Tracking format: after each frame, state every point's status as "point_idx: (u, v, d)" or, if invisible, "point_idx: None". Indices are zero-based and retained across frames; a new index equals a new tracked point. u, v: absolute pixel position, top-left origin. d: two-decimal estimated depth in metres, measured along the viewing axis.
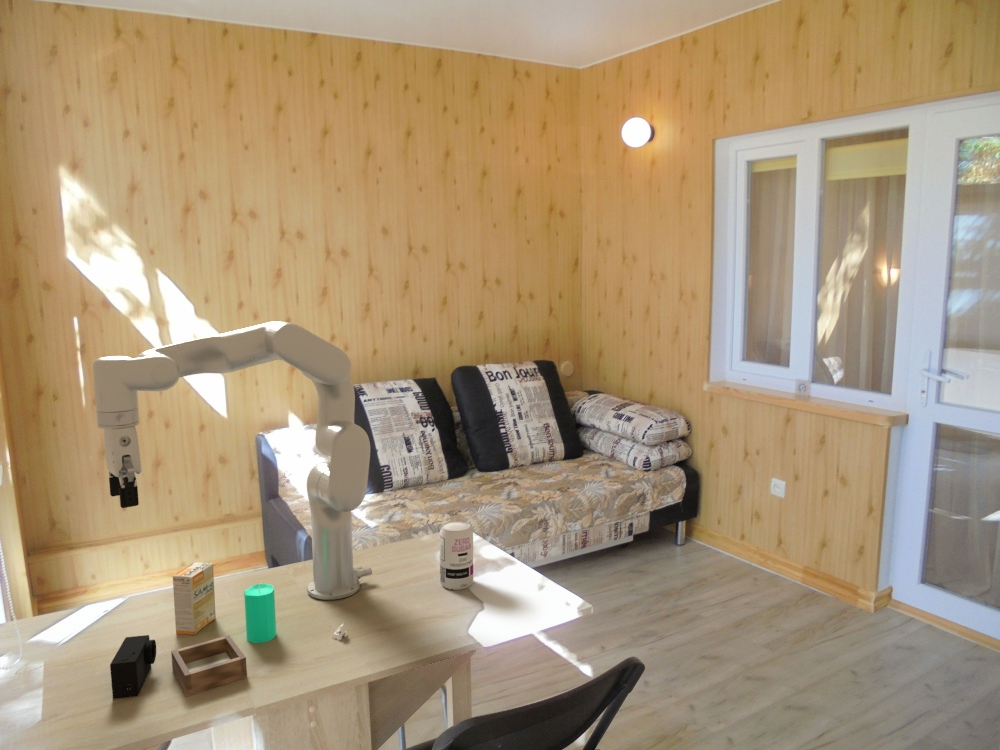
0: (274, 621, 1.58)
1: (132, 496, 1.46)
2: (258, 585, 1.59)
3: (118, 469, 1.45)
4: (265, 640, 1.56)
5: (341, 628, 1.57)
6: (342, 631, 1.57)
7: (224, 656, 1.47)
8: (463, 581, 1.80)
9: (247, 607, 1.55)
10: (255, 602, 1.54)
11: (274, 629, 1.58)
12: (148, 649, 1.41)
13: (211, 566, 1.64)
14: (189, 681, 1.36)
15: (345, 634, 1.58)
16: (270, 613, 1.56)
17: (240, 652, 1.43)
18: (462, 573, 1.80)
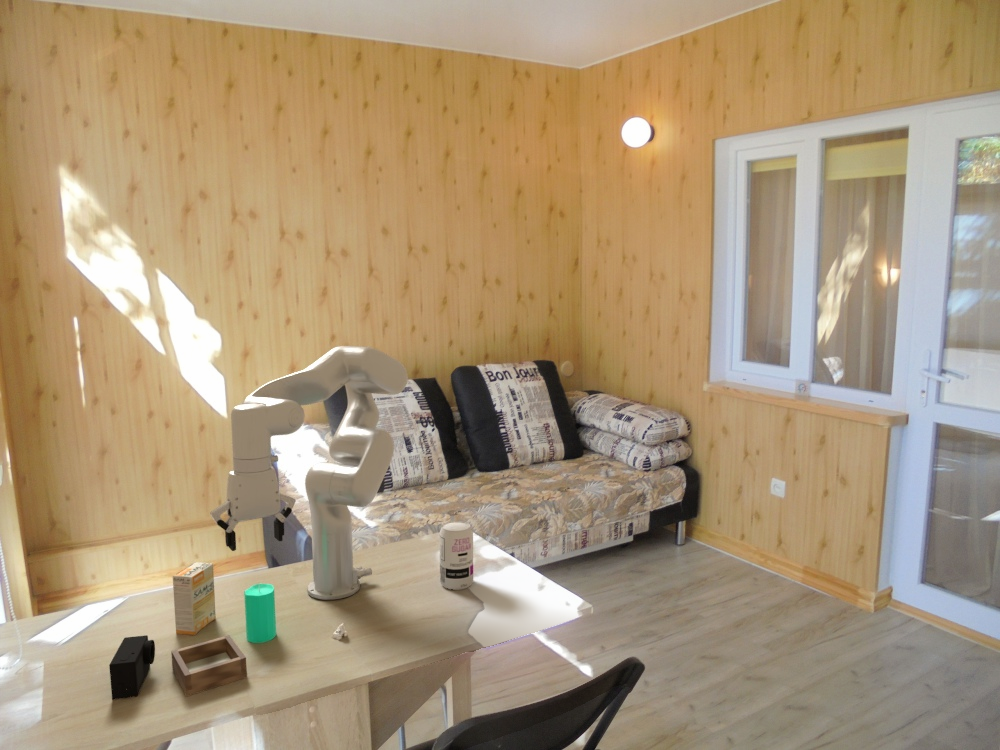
0: (274, 621, 1.58)
1: None
2: (258, 585, 1.59)
3: (280, 505, 1.56)
4: (265, 640, 1.56)
5: (341, 628, 1.57)
6: (342, 631, 1.57)
7: (224, 656, 1.47)
8: (463, 581, 1.80)
9: (247, 607, 1.55)
10: (255, 602, 1.54)
11: (274, 629, 1.58)
12: (147, 649, 1.41)
13: (211, 566, 1.64)
14: (189, 681, 1.36)
15: (345, 634, 1.58)
16: (270, 613, 1.56)
17: (240, 652, 1.43)
18: (462, 573, 1.80)
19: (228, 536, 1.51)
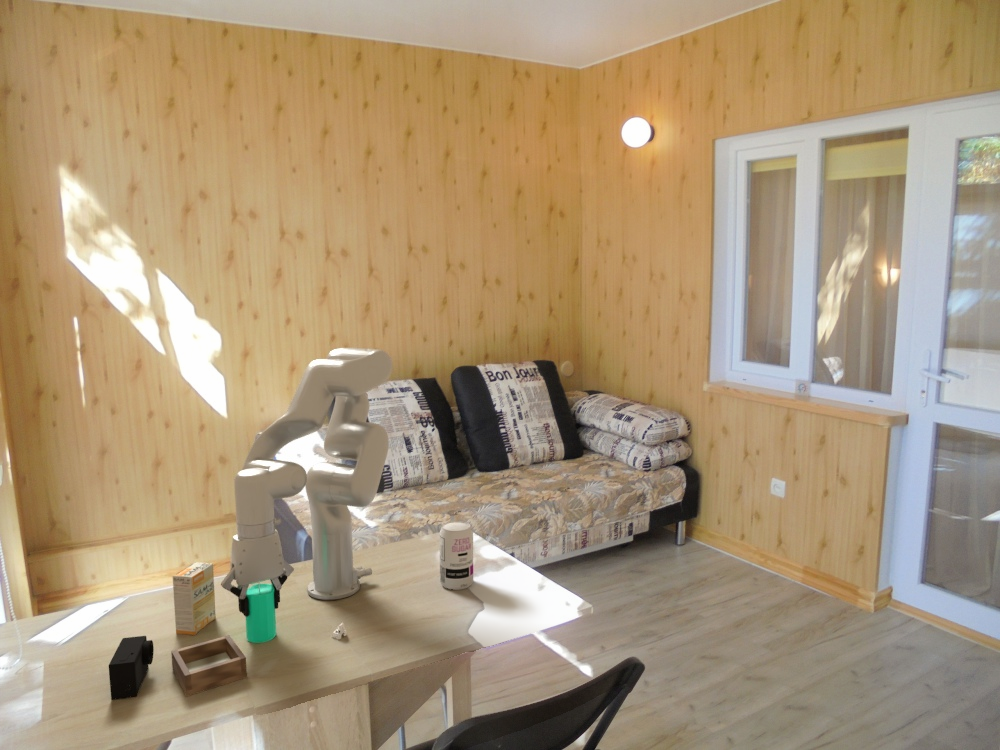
0: (274, 621, 1.58)
1: None
2: (258, 585, 1.59)
3: None
4: (265, 640, 1.56)
5: (341, 627, 1.57)
6: (341, 630, 1.57)
7: (224, 656, 1.47)
8: (463, 581, 1.80)
9: None
10: (255, 602, 1.54)
11: (274, 629, 1.58)
12: (146, 649, 1.41)
13: (211, 566, 1.64)
14: (189, 681, 1.36)
15: (344, 633, 1.58)
16: (270, 613, 1.56)
17: (240, 652, 1.43)
18: (462, 573, 1.80)
19: (241, 602, 1.54)
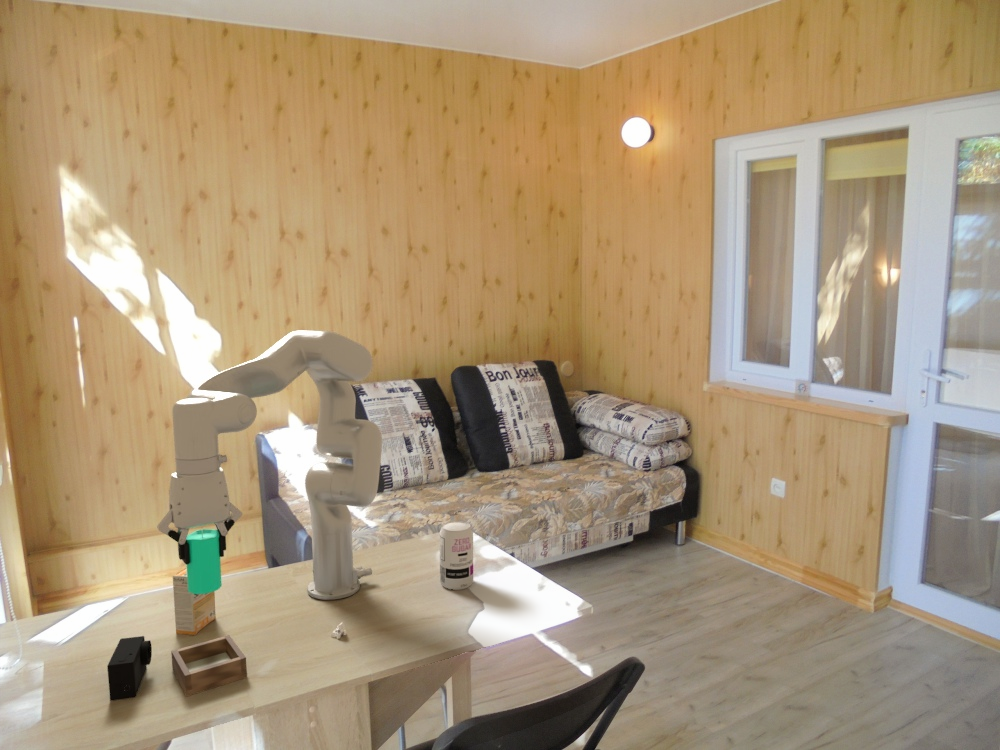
0: (219, 570, 1.41)
1: None
2: (202, 530, 1.42)
3: None
4: (208, 591, 1.39)
5: (340, 627, 1.57)
6: (341, 630, 1.58)
7: (224, 656, 1.47)
8: (463, 581, 1.80)
9: None
10: (196, 548, 1.37)
11: (219, 579, 1.41)
12: (144, 649, 1.41)
13: None
14: (189, 681, 1.36)
15: (344, 633, 1.59)
16: (214, 561, 1.39)
17: (240, 652, 1.43)
18: (462, 573, 1.80)
19: (181, 548, 1.37)
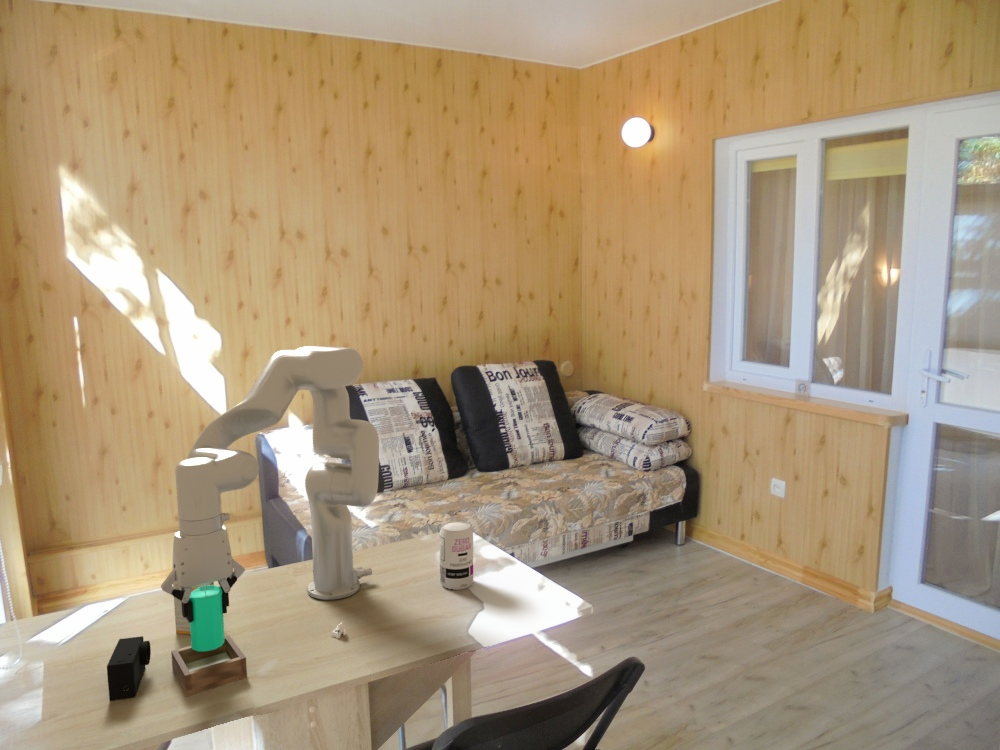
0: (222, 627, 1.42)
1: None
2: (205, 587, 1.44)
3: None
4: (211, 648, 1.40)
5: (340, 627, 1.58)
6: (341, 629, 1.58)
7: (224, 656, 1.47)
8: (463, 581, 1.80)
9: None
10: (199, 606, 1.39)
11: (222, 636, 1.42)
12: (144, 650, 1.41)
13: None
14: (189, 681, 1.36)
15: (344, 632, 1.59)
16: (217, 619, 1.41)
17: (240, 652, 1.43)
18: (462, 573, 1.80)
19: (184, 607, 1.39)
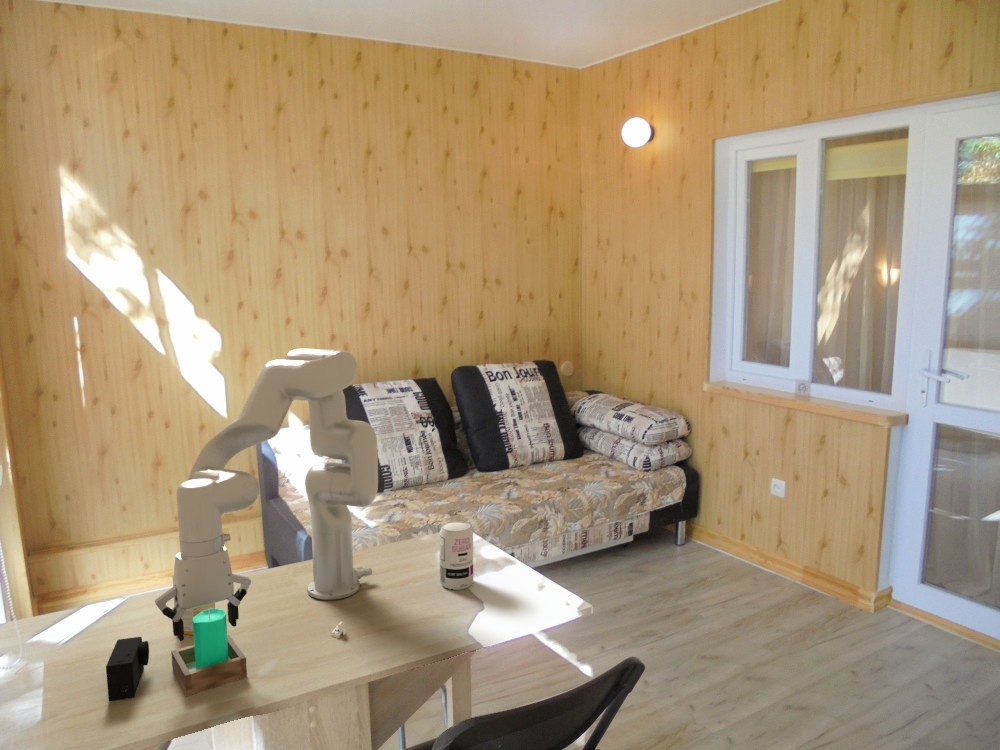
0: (226, 650, 1.43)
1: None
2: (209, 610, 1.45)
3: (233, 588, 1.43)
4: None
5: (340, 626, 1.58)
6: (340, 629, 1.58)
7: None
8: (463, 581, 1.80)
9: (195, 635, 1.40)
10: (203, 630, 1.39)
11: (226, 659, 1.43)
12: (142, 650, 1.41)
13: None
14: (189, 681, 1.36)
15: (343, 632, 1.59)
16: (222, 642, 1.42)
17: (240, 652, 1.43)
18: (462, 573, 1.80)
19: (175, 625, 1.38)
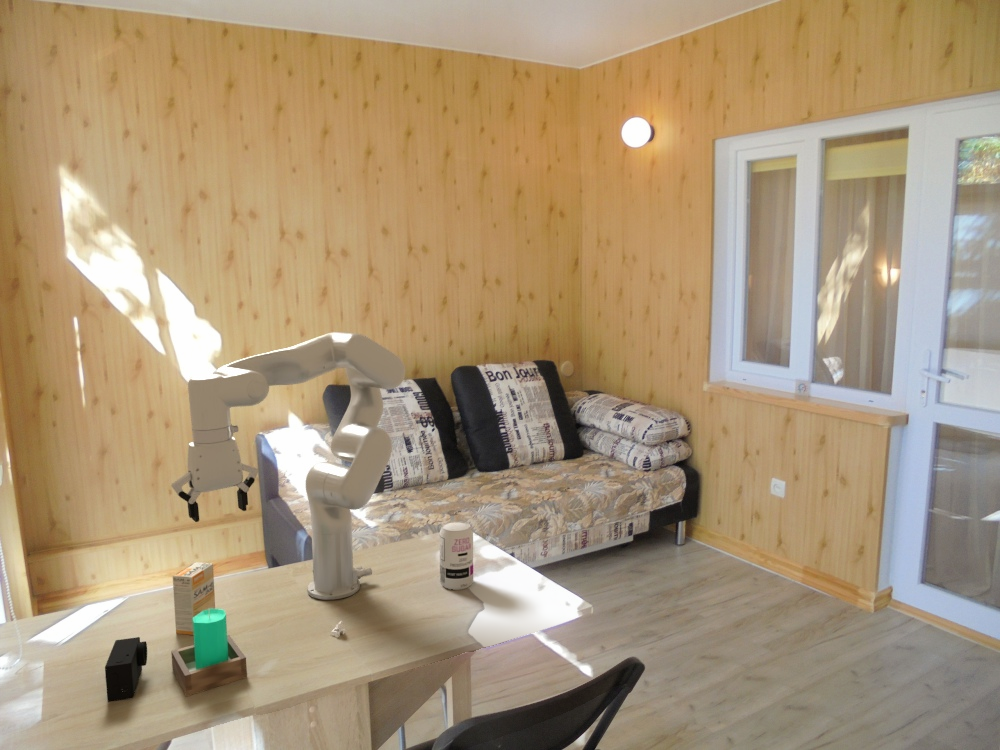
0: (226, 650, 1.43)
1: None
2: (209, 610, 1.45)
3: (242, 475, 1.55)
4: None
5: (340, 626, 1.58)
6: (340, 628, 1.58)
7: None
8: (463, 581, 1.80)
9: (195, 635, 1.40)
10: (203, 630, 1.39)
11: (226, 659, 1.43)
12: (141, 650, 1.40)
13: (211, 566, 1.64)
14: (189, 681, 1.36)
15: (343, 631, 1.59)
16: (222, 642, 1.42)
17: (240, 652, 1.43)
18: (462, 573, 1.80)
19: (191, 507, 1.50)
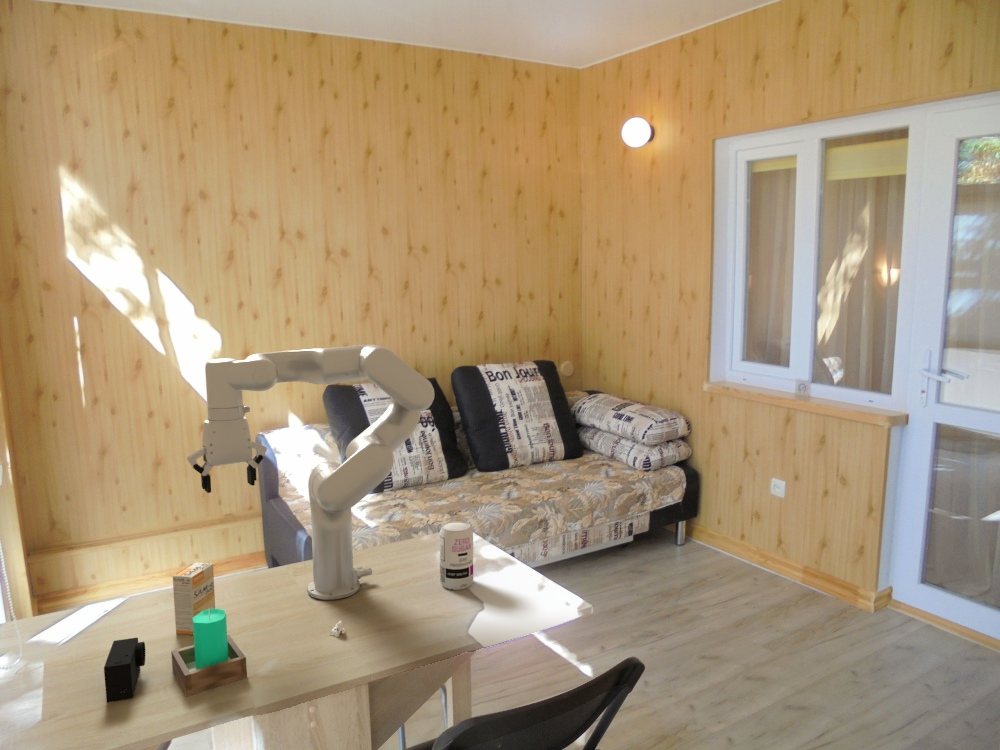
0: (226, 650, 1.43)
1: None
2: (209, 610, 1.45)
3: None
4: None
5: (339, 625, 1.58)
6: (340, 628, 1.58)
7: None
8: (463, 581, 1.80)
9: (195, 635, 1.40)
10: (203, 630, 1.39)
11: (226, 659, 1.43)
12: (139, 651, 1.40)
13: (211, 566, 1.64)
14: (189, 681, 1.36)
15: (343, 631, 1.59)
16: (222, 642, 1.42)
17: (240, 652, 1.43)
18: (462, 573, 1.80)
19: (204, 479, 1.64)
